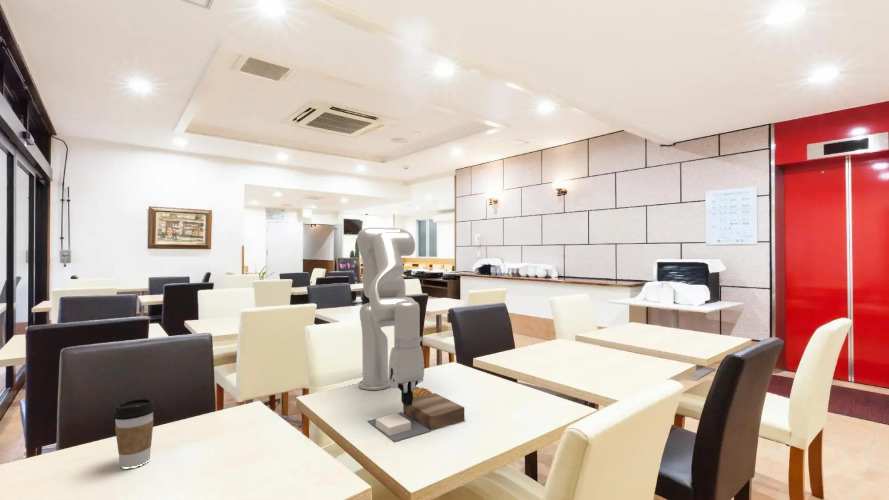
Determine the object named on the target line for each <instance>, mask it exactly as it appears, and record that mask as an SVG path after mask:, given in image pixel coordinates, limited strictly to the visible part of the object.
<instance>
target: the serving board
mask: <svg viewBox="0 0 889 500" xmlns="http://www.w3.org/2000/svg"><path fill="white" fill-rule="evenodd" d="M432 393H433V394H429V395H425V396H420V397H416V398H413V401H412V405H409V406H406V405H404V404H403V403H402V405H403V408H402V409H403V411H402V412H403V413H404V414H406V415H407V416H409V417H411V418H412V419H414V420H415V421H417V422H419V423H420V424H422V425H423V426H425V427H427V428H428V429H430V430H431V431H435V430H437V429H441V428H445V427H448V426H451V425H455V424H458V423H461V422H464V421H465V407H464V406H463V405H460V404H458V403H457V402H455V401H453V400H450V399H448V398H447V397H444V396H443V395H440V394H438V393H436V392H432Z"/></svg>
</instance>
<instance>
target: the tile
mask: <svg viewBox="0 0 889 500" xmlns="http://www.w3.org/2000/svg"><path fill="white" fill-rule="evenodd" d="M397 413H398V412H396V413H392V414H388V415H385V417H384V416H381V418H380V417H377V419H376V418H375V419H376V427H378V428H379V429H380V430H382V431H383V432H384V433H386V434H387V435H389V436H391V435H394V434H397V433H401V432H404V431H408V430H411V422H410V421H409V420H407V419H405V418H404V417H402V416H401V415H399V414H397Z"/></svg>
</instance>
